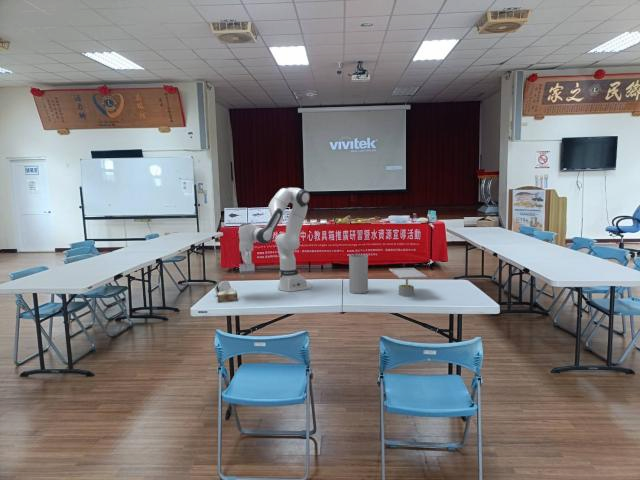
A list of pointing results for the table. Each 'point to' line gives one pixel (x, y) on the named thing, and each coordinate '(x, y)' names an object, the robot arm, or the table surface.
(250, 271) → the block
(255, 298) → the table surface
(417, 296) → the table surface
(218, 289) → the hinge
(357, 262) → the cylinder vase
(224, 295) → the stand
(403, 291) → the solar panel model
